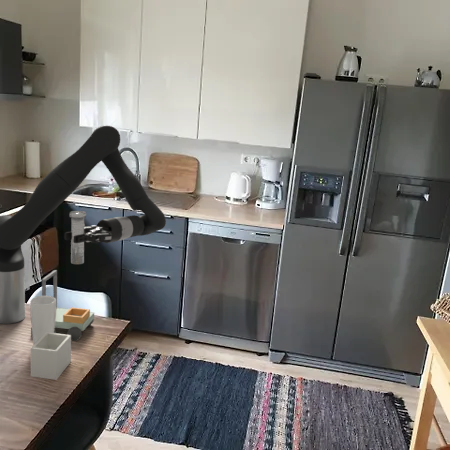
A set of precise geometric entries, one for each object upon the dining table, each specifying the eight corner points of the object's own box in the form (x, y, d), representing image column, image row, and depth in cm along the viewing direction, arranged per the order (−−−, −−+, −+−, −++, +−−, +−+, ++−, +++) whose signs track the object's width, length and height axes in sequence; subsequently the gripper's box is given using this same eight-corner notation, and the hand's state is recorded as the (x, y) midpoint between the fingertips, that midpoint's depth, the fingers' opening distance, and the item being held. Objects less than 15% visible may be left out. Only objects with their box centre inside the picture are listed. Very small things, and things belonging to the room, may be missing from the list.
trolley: (39, 336, 139) (39, 280, 135) (56, 320, 150) (56, 268, 146) (81, 341, 138) (82, 285, 134) (95, 325, 149) (96, 273, 145)
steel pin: (66, 264, 136) (67, 213, 132) (72, 259, 140) (73, 210, 136) (82, 265, 135) (82, 215, 132) (87, 260, 140) (88, 211, 136)
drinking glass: (47, 356, 129) (47, 306, 125) (25, 352, 130) (24, 302, 126) (60, 345, 135) (61, 297, 132) (39, 341, 136) (39, 293, 133)
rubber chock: (31, 336, 139) (31, 327, 138) (34, 333, 141) (34, 324, 140) (40, 337, 139) (40, 328, 138) (43, 334, 141) (43, 325, 140)
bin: (30, 376, 119) (30, 348, 117) (46, 358, 128) (46, 332, 126) (56, 379, 118) (56, 351, 117) (70, 361, 127) (71, 335, 125)
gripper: (100, 213, 150) (54, 220, 136) (131, 222, 143) (86, 230, 129) (99, 235, 152) (54, 244, 138) (130, 245, 144) (85, 256, 130)
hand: (70, 238), depth 134 cm, fingers closed on steel pin, 3 cm apart
